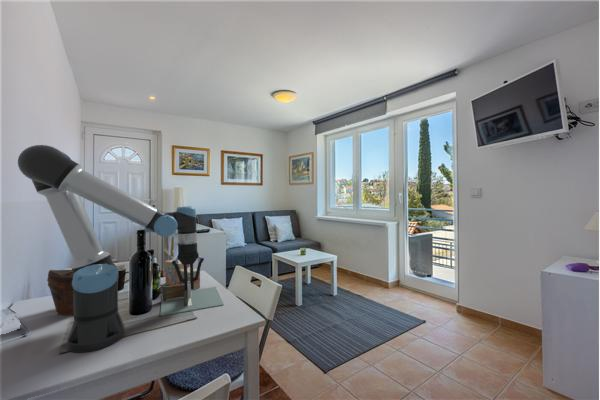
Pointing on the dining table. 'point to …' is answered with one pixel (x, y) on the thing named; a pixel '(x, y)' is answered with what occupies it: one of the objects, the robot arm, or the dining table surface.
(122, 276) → the coffee mug
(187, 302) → the fence gate
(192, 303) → the board
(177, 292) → the bar
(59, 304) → the brown flower pot
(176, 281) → the stack of blocks
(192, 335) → the dining table surface
